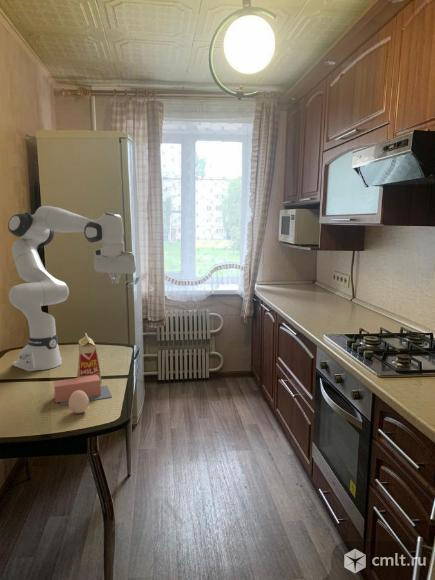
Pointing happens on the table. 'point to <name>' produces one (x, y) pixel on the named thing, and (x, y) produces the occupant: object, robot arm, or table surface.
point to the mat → (104, 394)
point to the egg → (78, 401)
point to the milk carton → (88, 359)
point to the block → (77, 387)
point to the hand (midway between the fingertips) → (115, 283)
